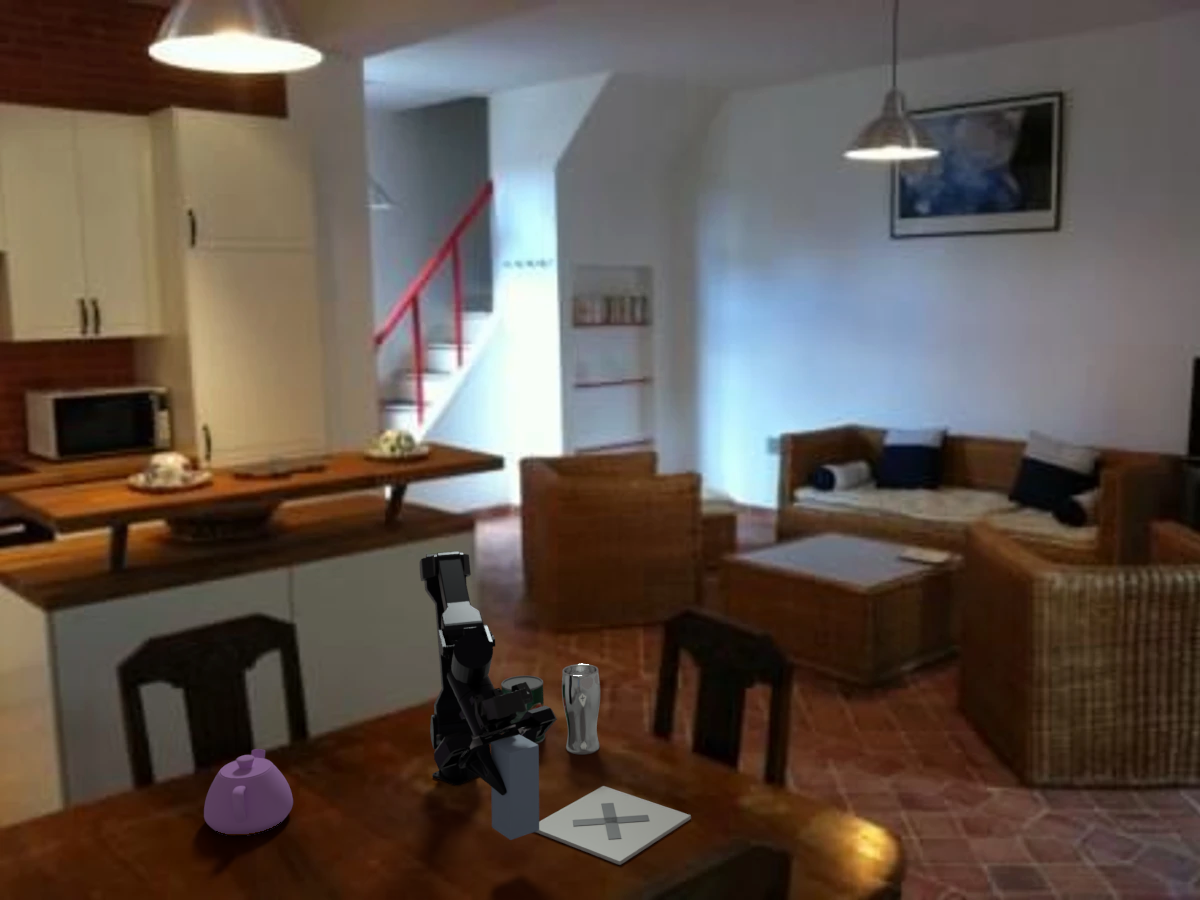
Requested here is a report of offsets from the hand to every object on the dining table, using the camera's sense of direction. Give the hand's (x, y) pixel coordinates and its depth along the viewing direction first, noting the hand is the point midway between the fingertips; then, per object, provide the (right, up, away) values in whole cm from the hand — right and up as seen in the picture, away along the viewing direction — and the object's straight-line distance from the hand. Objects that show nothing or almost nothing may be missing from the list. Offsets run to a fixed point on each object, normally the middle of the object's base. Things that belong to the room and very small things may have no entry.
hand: (520, 788), depth 162 cm
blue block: (-1, -6, +2) cm, 7 cm away
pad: (+13, -10, +15) cm, 22 cm away
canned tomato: (-3, -6, +50) cm, 50 cm away
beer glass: (+8, -6, +44) cm, 46 cm away
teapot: (-46, -11, +21) cm, 51 cm away
